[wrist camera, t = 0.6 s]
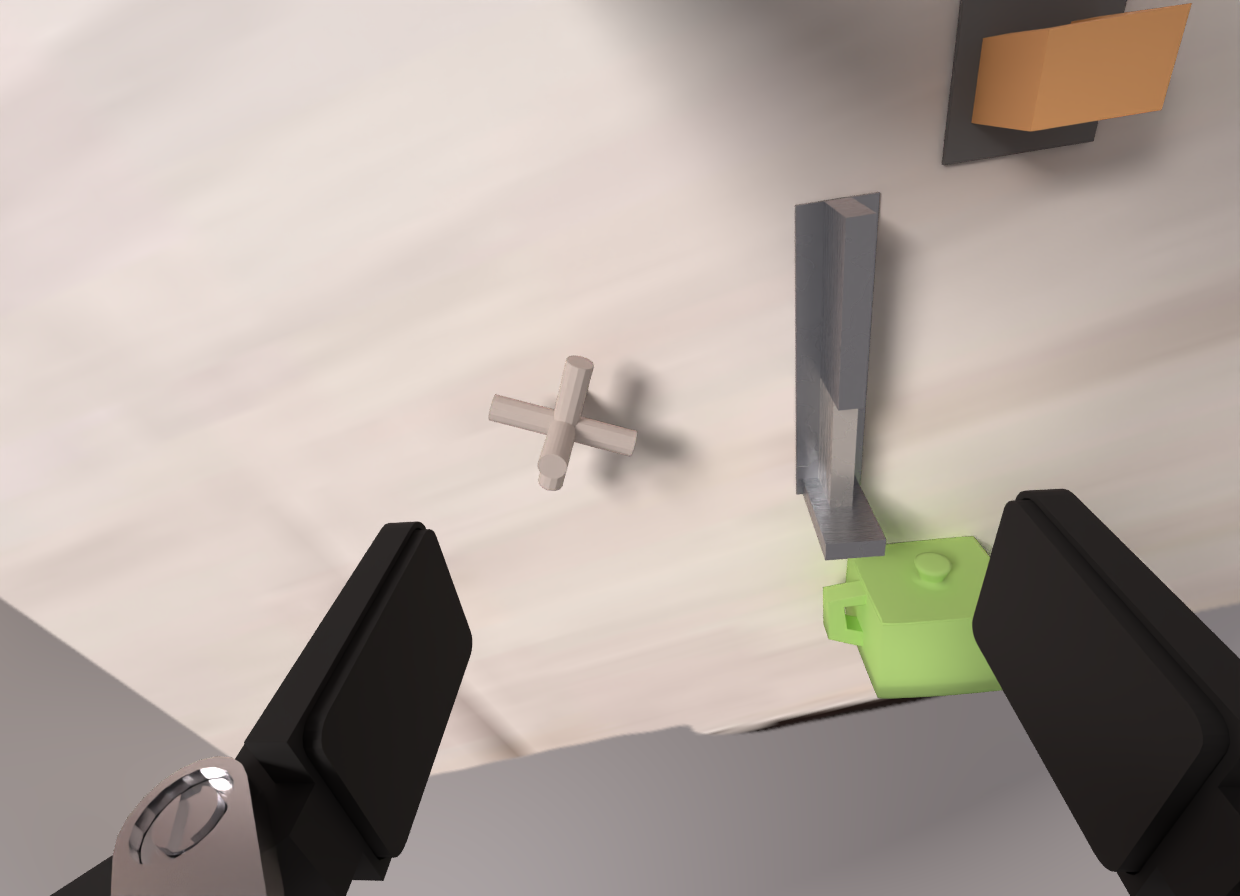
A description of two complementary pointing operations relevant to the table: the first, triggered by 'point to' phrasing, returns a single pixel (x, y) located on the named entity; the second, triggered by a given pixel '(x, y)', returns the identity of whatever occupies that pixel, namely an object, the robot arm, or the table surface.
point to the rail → (835, 368)
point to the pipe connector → (563, 423)
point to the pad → (986, 10)
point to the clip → (1079, 70)
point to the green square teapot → (914, 617)
